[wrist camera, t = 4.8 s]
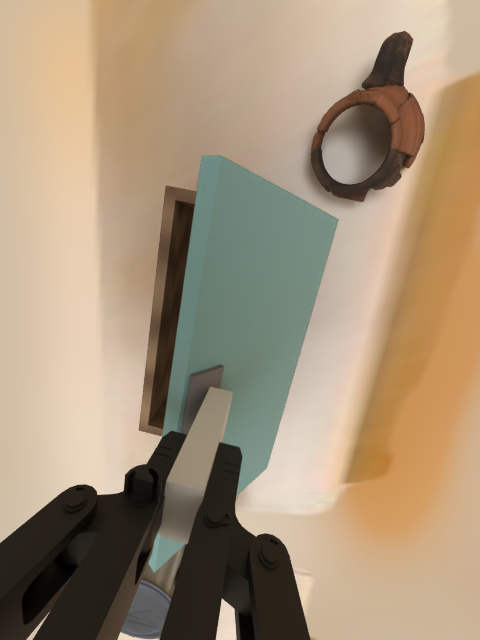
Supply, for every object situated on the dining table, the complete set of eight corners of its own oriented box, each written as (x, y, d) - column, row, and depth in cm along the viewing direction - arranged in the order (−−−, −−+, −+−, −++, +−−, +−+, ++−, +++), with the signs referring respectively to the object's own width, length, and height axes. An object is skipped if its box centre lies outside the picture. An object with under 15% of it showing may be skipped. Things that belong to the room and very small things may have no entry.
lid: (202, 156, 12) (226, 154, 11) (324, 217, 23) (342, 219, 22) (144, 558, 19) (156, 576, 18) (258, 460, 30) (269, 469, 29)
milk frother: (170, 515, 43) (121, 646, 29) (120, 437, 40) (37, 542, 26) (250, 493, 40) (238, 627, 26) (202, 407, 37) (160, 506, 23)
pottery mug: (409, 198, 28) (399, 208, 22) (321, 193, 33) (294, 200, 27) (456, 40, 22) (459, -6, 16) (340, 60, 27) (310, 31, 21)
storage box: (189, 199, 30) (165, 185, 23) (312, 224, 29) (324, 217, 23) (162, 397, 37) (138, 430, 31) (260, 421, 37) (257, 460, 30)
